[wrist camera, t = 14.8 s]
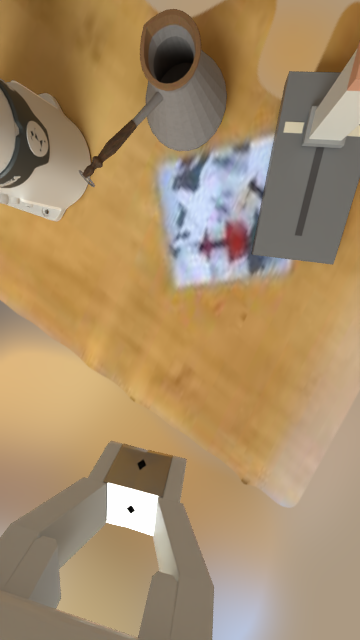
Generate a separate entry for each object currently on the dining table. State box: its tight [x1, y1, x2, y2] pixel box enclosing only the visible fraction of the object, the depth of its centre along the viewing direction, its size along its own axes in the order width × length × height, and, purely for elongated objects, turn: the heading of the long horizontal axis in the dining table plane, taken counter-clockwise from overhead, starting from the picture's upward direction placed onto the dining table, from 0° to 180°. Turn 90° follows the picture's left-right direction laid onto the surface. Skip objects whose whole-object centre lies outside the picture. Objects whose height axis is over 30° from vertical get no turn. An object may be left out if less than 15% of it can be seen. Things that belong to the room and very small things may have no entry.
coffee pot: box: [79, 9, 227, 187], centre depth 32 cm, size 21×12×15 cm, turn 139°
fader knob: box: [302, 41, 360, 148], centre depth 26 cm, size 5×4×14 cm
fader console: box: [251, 71, 360, 264], centre depth 35 cm, size 12×23×3 cm, turn 174°
